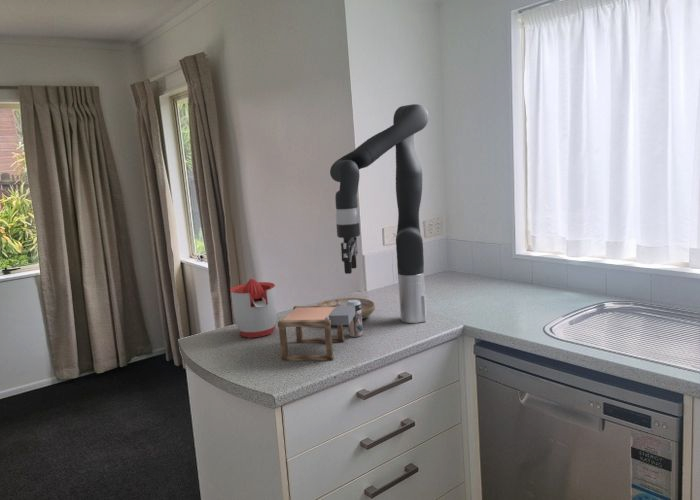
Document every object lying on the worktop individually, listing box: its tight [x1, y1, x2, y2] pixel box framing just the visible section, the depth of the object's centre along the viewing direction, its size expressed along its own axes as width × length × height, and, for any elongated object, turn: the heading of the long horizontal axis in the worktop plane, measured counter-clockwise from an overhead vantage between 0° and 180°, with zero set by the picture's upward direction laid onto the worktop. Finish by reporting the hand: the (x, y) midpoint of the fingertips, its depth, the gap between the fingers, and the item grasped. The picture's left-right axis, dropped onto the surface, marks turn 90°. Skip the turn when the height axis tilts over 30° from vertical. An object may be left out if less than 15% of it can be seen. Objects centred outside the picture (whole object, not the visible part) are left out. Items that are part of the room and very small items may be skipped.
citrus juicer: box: [230, 278, 278, 339], centre depth 195 cm, size 16×17×20 cm
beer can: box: [347, 299, 364, 338], centre depth 185 cm, size 5×5×12 cm
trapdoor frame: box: [277, 302, 345, 361], centre depth 174 cm, size 16×18×13 cm
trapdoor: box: [282, 305, 355, 326], centre depth 172 cm, size 20×14×3 cm
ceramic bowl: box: [315, 297, 376, 320], centre depth 208 cm, size 23×24×5 cm
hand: (350, 270), depth 183 cm, fingers open, 8 cm apart
